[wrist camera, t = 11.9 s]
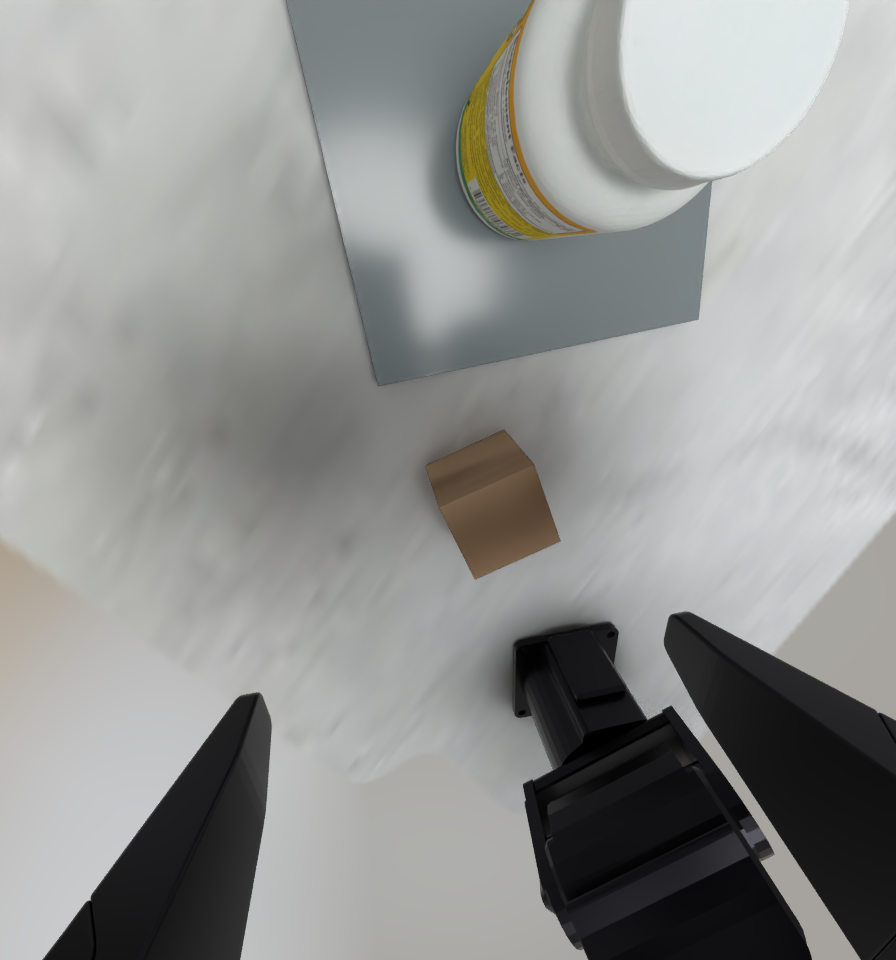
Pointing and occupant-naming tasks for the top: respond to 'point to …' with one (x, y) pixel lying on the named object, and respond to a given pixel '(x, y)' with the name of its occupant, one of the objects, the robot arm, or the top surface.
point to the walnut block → (492, 503)
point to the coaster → (462, 202)
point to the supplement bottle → (635, 107)
